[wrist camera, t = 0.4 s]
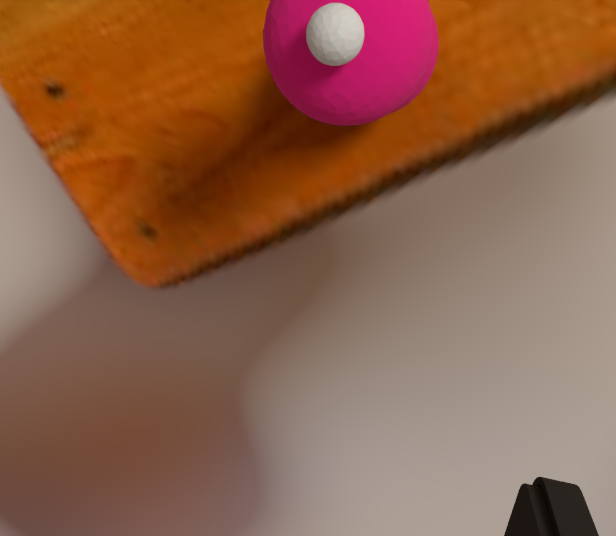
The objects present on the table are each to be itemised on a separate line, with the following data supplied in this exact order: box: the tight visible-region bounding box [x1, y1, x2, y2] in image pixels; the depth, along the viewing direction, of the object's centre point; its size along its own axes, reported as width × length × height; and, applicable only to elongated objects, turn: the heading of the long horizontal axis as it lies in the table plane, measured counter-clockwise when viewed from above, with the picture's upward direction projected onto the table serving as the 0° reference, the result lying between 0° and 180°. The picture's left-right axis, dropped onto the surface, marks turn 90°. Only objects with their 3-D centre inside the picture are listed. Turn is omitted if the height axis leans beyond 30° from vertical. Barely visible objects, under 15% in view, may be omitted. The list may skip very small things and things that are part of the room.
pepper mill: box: [263, 0, 439, 126], centre depth 26 cm, size 7×7×20 cm
